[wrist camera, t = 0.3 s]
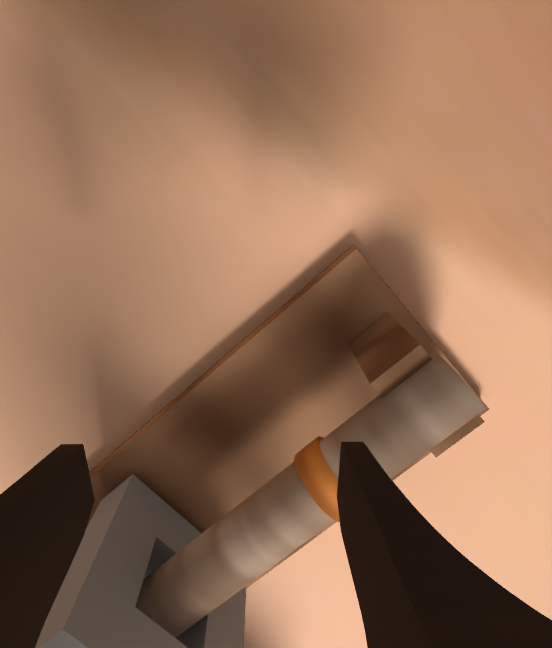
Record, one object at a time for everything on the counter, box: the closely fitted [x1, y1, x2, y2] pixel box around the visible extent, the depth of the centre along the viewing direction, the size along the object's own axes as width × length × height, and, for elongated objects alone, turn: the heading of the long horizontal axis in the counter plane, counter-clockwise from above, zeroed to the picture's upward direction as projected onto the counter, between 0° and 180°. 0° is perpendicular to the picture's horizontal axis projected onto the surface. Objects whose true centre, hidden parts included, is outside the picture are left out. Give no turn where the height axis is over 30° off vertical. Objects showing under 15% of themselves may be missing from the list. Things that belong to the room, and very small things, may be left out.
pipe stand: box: [86, 246, 489, 638], centre depth 22 cm, size 24×11×7 cm, turn 131°
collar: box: [35, 474, 246, 648], centre depth 20 cm, size 2×9×9 cm, turn 41°
